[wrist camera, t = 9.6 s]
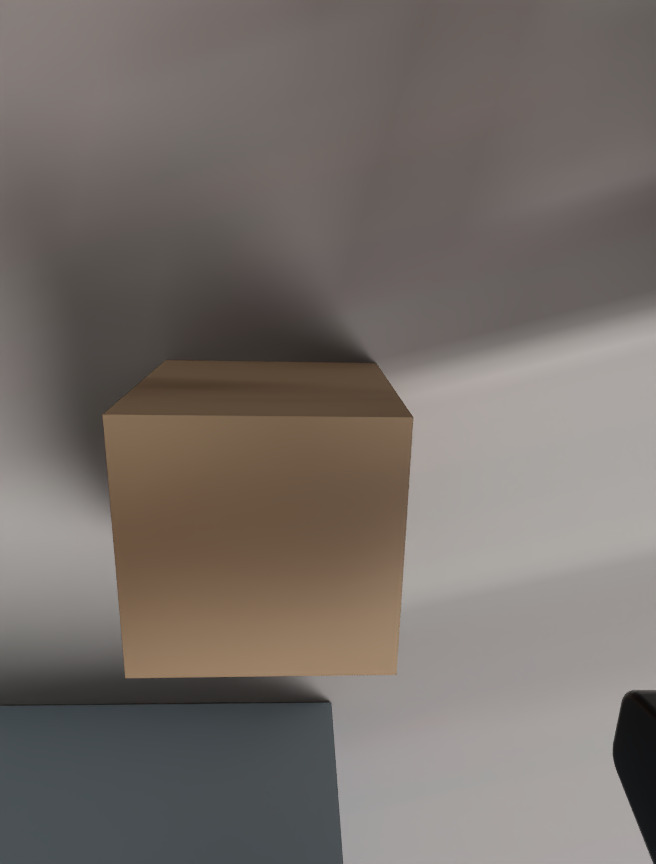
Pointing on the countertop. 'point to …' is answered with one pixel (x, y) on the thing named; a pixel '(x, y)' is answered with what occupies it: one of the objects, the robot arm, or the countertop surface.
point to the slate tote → (169, 784)
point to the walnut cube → (259, 519)
